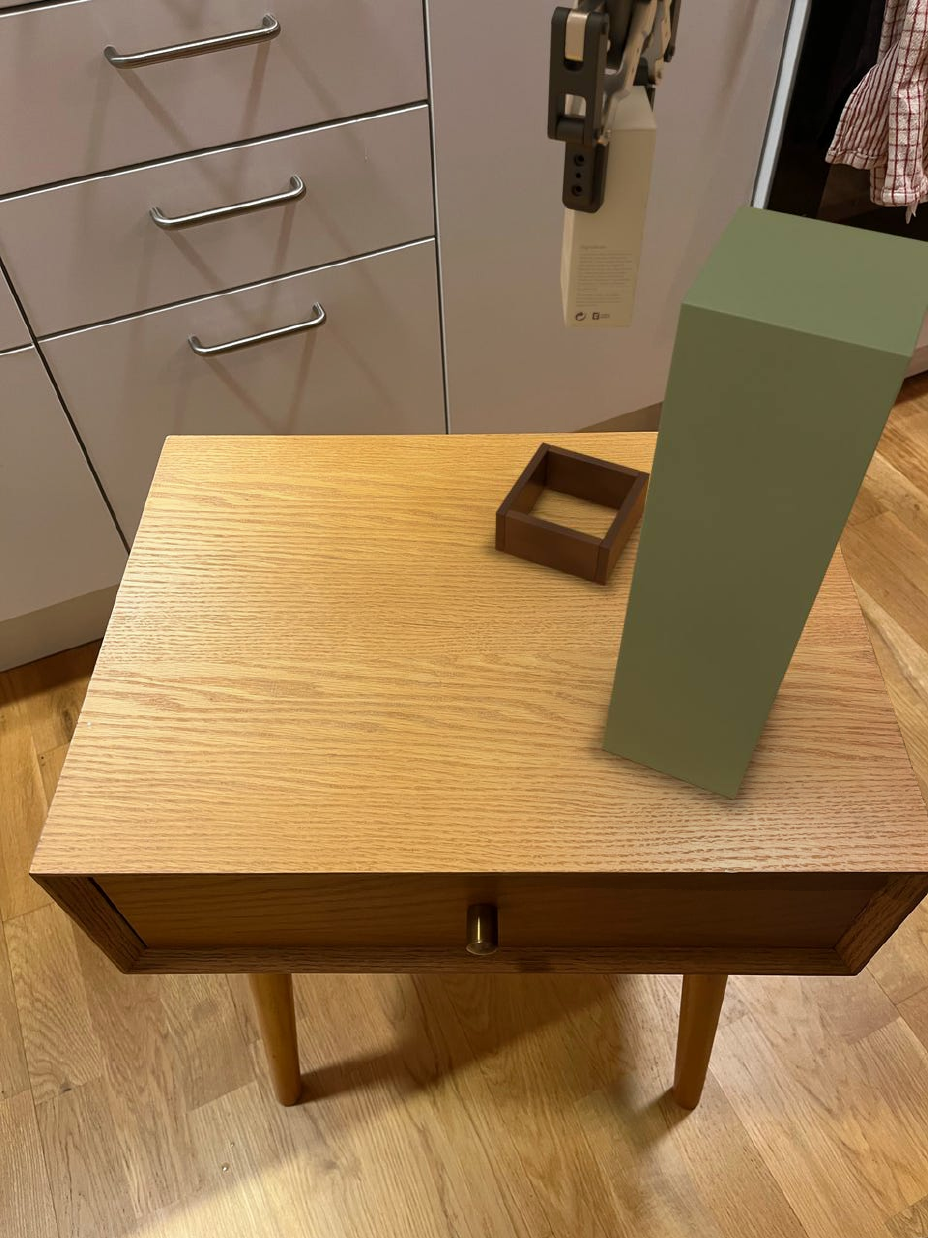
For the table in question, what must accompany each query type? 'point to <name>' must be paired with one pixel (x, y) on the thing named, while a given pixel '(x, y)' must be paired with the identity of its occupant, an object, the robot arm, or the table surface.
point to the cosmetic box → (611, 225)
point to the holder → (562, 543)
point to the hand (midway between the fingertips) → (606, 178)
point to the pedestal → (756, 478)
